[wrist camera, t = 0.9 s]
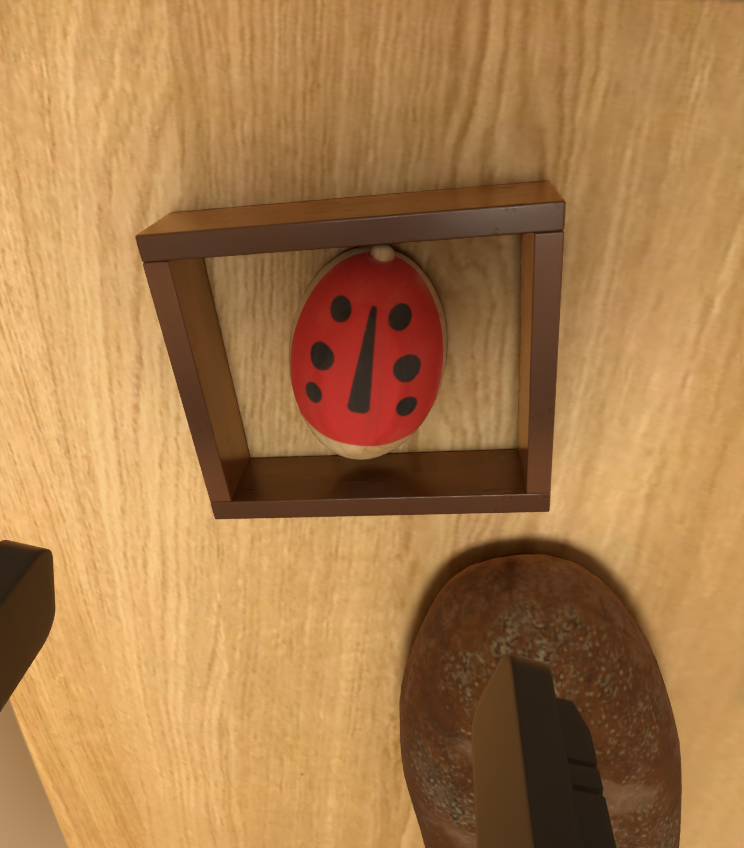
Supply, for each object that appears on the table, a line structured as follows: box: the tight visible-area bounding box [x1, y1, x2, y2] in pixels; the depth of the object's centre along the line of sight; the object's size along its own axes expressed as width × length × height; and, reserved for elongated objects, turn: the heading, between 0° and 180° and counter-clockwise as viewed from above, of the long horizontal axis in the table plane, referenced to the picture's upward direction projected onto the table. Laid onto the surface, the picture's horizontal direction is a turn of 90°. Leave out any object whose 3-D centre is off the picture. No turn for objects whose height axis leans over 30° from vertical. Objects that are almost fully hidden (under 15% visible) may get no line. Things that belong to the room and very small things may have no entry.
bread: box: [400, 554, 682, 848], centre depth 38 cm, size 16×36×8 cm, turn 11°
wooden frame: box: [136, 181, 566, 519], centre depth 27 cm, size 13×15×4 cm
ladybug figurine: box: [289, 244, 447, 460], centre depth 27 cm, size 7×10×4 cm
